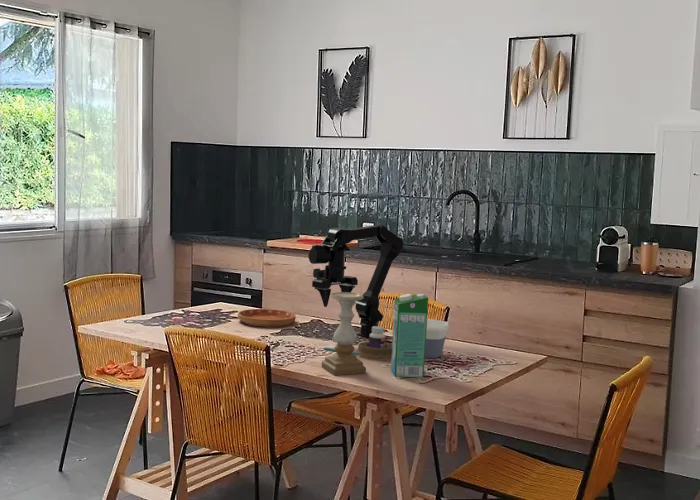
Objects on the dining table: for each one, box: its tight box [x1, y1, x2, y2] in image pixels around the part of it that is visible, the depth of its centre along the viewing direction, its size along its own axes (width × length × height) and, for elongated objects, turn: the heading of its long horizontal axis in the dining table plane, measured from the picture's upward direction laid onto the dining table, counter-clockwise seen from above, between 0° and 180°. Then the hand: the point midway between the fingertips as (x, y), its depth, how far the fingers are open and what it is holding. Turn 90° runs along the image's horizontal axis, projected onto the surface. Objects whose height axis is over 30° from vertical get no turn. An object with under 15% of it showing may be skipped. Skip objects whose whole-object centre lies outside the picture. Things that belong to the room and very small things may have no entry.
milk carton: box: [390, 292, 429, 378], centre depth 252 cm, size 9×9×25 cm
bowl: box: [425, 318, 450, 360], centre depth 279 cm, size 15×15×11 cm
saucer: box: [237, 308, 297, 328], centre depth 321 cm, size 23×23×4 cm
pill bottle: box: [368, 325, 386, 348], centre depth 274 cm, size 5×5×10 cm
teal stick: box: [323, 347, 359, 356], centre depth 276 cm, size 14×1×1 cm, turn 63°
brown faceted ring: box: [357, 340, 392, 361], centre depth 274 cm, size 12×12×4 cm
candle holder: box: [321, 291, 367, 376], centre depth 252 cm, size 11×11×24 cm
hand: (334, 305), depth 295 cm, fingers open, 9 cm apart
